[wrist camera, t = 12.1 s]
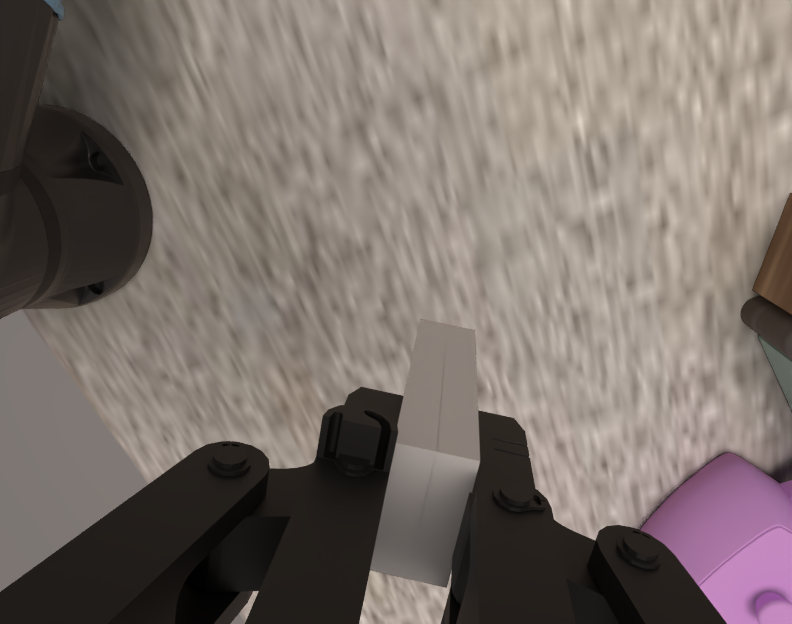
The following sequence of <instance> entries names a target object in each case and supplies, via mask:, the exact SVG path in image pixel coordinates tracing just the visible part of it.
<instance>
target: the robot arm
mask: <svg viewBox="0 0 792 624" xmlns="http://www.w3.org/2000/svg"><path fill="white" fill-rule="evenodd" d="M61 3H62V0H0V319H1V318H3V317H5V316H7V315H9V314H11V313H13V312H15V311H17V310H20V309H61V308H73V307H78V306H83V305H86V304H89V303H92V302H95V301H97V300H99V299H101V298H103V297H105V296H107V295H109V294H111V293H113V292H115V291H116V290H118V289H119V288H121V287H122V286H123V285H125V284H126V283H127V282H128V281H129V280H130V279H131V278H132V277H133V276H134V275H135V273H136V272H137V271H138V269H139V268H140V266H141V264H142V262H143V261H144V258H145V256H146V254H147V251H148V248H149V244H150V239H151V232H152V212H151V204H150V199H149V195H148V191H147V188H146V185H145V183H144V180H143V178H142V175H141V173H140V171H139V169H138V167H137V166H136V164H135V162H134V161H133V159H132V158H131V156H130V155H129V153H128V152H127V151H126V149H125V148H124V147H123V146H122V145H121V143H120V142H119V141H118V140H117V139H116V138H115V137H114V136H113V135H112V134H111V133H109V132H108V131H107V130H106V129H105V128H103V127H102V126H101V125H99V124H98V123H96V122H95V121H93V120H91V119H90V118H88V117H86V116H84V115H82V114H80V113H77V112H75V111H72V110H69V109H66V108H62V107H58V106H51V105H38V101H39V97H40V93H41V89H42V85H43V81H44V77H45V73H46V69H47V65H48V61H49V57H50V53H51V49H52V45H53V41H54V36H55V32H56V28H57V24H58V20H61V21H62V20H63V17H64V8H63V6H62V4H61ZM451 569H452V576H451V588H450V592H449V595H448V599H447V603H446V607H445V610H444V614H443V618H442V621H441V624H727V623H726V621H725V620H724V619H723V617H722V616H721V615H720V614H719V612H718V611H717V610H716V608H715V607H714V606H713V604H712V603H711V602H710V600H709V599H708V598H707V596H706V595H705V594H704V593H703V591H702V590H701V589H700V587H699V586H698V585H697V583H696V582H695V581H694V579H693V578H692V577H691V575H690V574H689V573H688V572H687V570H686V569H685V568H684V566H683V565H682V564H681V562H680V561H679V560H678V558H677V557H676V556H675V555H674V554H673V553H672V552H671V551H670V550H669V549H668V548H667V547H666V546H665V545H664V544H663V543H662V542H660V541H659V540H657V539H656V538H654V537H653V536H651V535H650V534H648V533H646V532H644V531H641V530H639V529H636V528H631V527H626V526H621V525H614V526H606V527H605V528H603V529H601V530H600V531H599V532H598V535H597V538H596V541H595V540H592V539H590V538H588V537H585V536H583V535H581V534H578V533H576V532H574V531H572V530H570V529H568V528H566V527H564V526H562V525H561V524H559V523H558V522H556V521H555V520H554V518H553V513H552V508H551V506H550V504H549V502H548V500H547V499H546V498H545V497H544V496H543V495H542V494H541V493H540V492H539V491H538V490H536V489H535V484H534V479H533V473H532V468H531V462H530V458H529V451H528V447H527V440H526V435H525V431H524V430H523V429H522V427H521V426H520V425H519V424H518V423H517V421H516V420H515V419H514V418H510V417H506V416H501V415H497V414H492V413H487V412H483V411H478V394H477V369H476V343H475V330H471V329H467V328H462V327H457V326H452V325H448V324H443V323H438V322H434V321H429V320H424V319H420V324H419V328H418V333H417V337H416V342H415V347H414V351H413V356H412V360H411V365H410V369H409V374H408V379H407V383H406V388H405V392H404V396H401V395H397V394H392V393H387V392H383V391H378V390H374V389H369V388H364V387H360V388H359V389H357V390H356V391H354V392H352V393H351V394H349V395H348V397H347V400H346V402H345V405H340V406H337V407H334V408H331V409H329V410H328V411H327V412H326V413H325V414H324V415H323V419H322V425H321V431H320V437H319V443H318V449H317V455H316V458H315V461H314V463H312V464H310V465H307V466H303V467H299V468H289V469H269V459H268V458H267V457H266V456H265V454H264V453H263V452H262V451H261V450H259V449H257V448H255V447H253V446H252V445H248V444H244V443H240V442H233V441H232V442H230V441H224V442H217V443H212V444H207V445H205V446H203V447H201V448H199V449H197V450H195V451H194V452H193V453H191V454H190V455H188V456H187V457H186V458H184V459H183V460H182V461H180V462H179V463H177V464H176V465H175V466H173V467H172V468H171V469H169V470H168V471H166V472H165V473H164V474H162V475H161V476H160V477H158V478H157V479H155V480H154V481H153V482H151V483H150V484H148V485H147V486H146V487H144V488H143V489H142V490H140V491H139V492H138V493H136V494H135V495H133V496H132V497H131V498H129V499H128V500H127V501H125V502H124V503H122V504H121V505H120V506H118V507H117V508H115V509H114V510H113V511H111V512H110V513H109V514H107V515H106V516H104V517H103V518H102V519H100V520H99V521H98V522H96V523H95V524H93V525H92V526H91V527H89V528H88V529H86V530H85V531H84V532H82V533H81V534H80V535H78V536H77V537H76V538H74V539H73V540H71V541H70V542H68V543H67V544H66V545H64V546H63V547H62V548H60V549H59V550H58V551H56V552H55V553H53V554H52V555H51V556H49V557H48V558H46V559H45V560H44V561H43V562H41V563H40V564H38V565H37V566H35V567H34V568H33V569H32V570H30V571H29V572H27V573H26V574H24V575H23V576H22V577H20V578H19V579H18V580H16V581H15V582H13V583H12V584H11V585H9V586H8V587H6V588H5V589H4V590H2V591H1V592H0V624H230V623H231V622H232V621H233V620H234V618H235V617H236V616H237V615H238V614H239V612H240V611H241V610H242V609H243V607H244V606H245V605H246V604H247V602H248V600H249V598H250V596H251V594H252V592H253V591H259V592H258V594H257V597H256V599H255V601H254V604H253V606H252V609H251V611H250V613H249V616H248V618H247V620H246V623H245V624H359V620H360V615H361V610H362V606H363V601H364V596H365V591H366V586H367V581H368V576H369V572H370V570H372V571H376V572H380V573H385V574H389V575H393V576H398V577H402V578H406V579H411V580H415V581H419V582H424V583H428V584H433V585H437V586H441V587H446V588H447V584H448V581H449V577H450V573H451Z"/></svg>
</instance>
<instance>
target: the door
mask: <svg viewBox="0 0 792 624" xmlns="http://www.w3.org/2000/svg"><path fill="white" fill-rule="evenodd" d="M758 337H759V339H760V341H761V344H762V346H763V348H764V350H765V353H766V355H767V357H768V359H769V361H770V364H771V366H772V368H773V370H774V372H775V375H776V377H777V379H778V381H779V384H780V386H781V388H782V390H783V392H784V395H785V397H786V399H787V401H788V403H789V406H790V408H791V410H792V360H791V359H790V358H789V357H788V356H786V355H785V354H784V353H782V352H781V351H780V350H778V349H777V348H776V347H775V346H773V345H772V344H771V343H769V342H768V341H767V340H765V339H764V338H763V337H762V336H758Z"/></svg>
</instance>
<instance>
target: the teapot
mask: <svg viewBox="0 0 792 624" xmlns="http://www.w3.org/2000/svg"><path fill="white" fill-rule="evenodd" d="M640 530H641V531H644V532H646V533H648V534H650V535H651V536H653V537H654V538H656V539H657V540H659V541H660V542H662V543H663V544H664V545H665V546H666V547H667V548H668V549H669V550H670V551H671V552H672V553H673V554H674V555H675V556H676V557H677V558H678V560H679V561H680V562H681V564H682V565H683V566H684V568H685V569H686V570H687V572H688V573H689V574H690V575H691V577H692V578H693V579H694V581H695V582H696V583H697V585H698V586H699V587H700V589H701V590H702V591H703V593H704V594H705V595H706V596H707V598H708V599H709V600H710V602H711V603H712V604H713V606H714V607H715V608H716V610H717V611H718V612H719V614H720V615H721V616H722V617H723V619H724V620H725V621H726V623H727V624H792V480H789V481H786V482H783V483H778V482H777V481H776V480H774V479H773V478H771V477H770V476H768V475H767V474H765V473H764V472H762V471H761V470H759V469H758V468H756V467H755V466H753V465H752V464H750V463H749V462H747V461H745V460H744V459H742V458H740V457H739V456H737V455H735V454H732V453H725V454H722V455H721V456H719V457H717V458H716V459H714V460H713V461H711V462H710V463H709V464H707V465H706V466H705V467H703V468H702V469H701V470H699V471H698V472H697V473H696V474H694V475H693V476H692V477H691V478H689V479H688V480H687V481H686V482H685V483H683V484H682V485H681V486H680V487H679V488H678V489H676V490H675V491H674V492H673V493H672V494H671V495H670V496H669V497H668V498H667V499H666V500H665V501H664V502H663V503H662V505H661V506H660V507H659V508H658V509H657V510H656V511H655V512H654V513H653V514H652V516H651V517H650V518H649V519H648V520H647V521H646V523H645V524H644V525H643V526H642V528H641V529H640Z"/></svg>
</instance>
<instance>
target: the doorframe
mask: <svg viewBox="0 0 792 624" xmlns="http://www.w3.org/2000/svg"><path fill="white" fill-rule="evenodd" d="M753 291H755V292H756V293H758V294H760V295H761V296H759V297H754V298H752V299H750V300H749V301H747V302H746V303H745V304H744V306H743V308H742V310H741V318H742V321H743V322H744V323H745V324H746V325H747V326H749V327H750V328H751V329H752V330H754V331H755V332H756V333H758V334H759V335H760V336H762V337H763V338H764V339H765V340H767V341H768V342H769V343H771V344H772V345H773V346H775V347H776V348H777V349H778V350H780V351H781V352H782V353H784V354H785V355H786V356H788V357H789V358H790V359H791V360H792V193H790V195H789V198H788V200H787V203H786V205H785V208H784V211H783V213H782V216H781V218H780V221H779V223H778V226H777V228H776V231H775V233H774V236H773V239H772V241H771V244H770V246H769V249H768V251H767V254H766V256H765V259H764V261H763V264H762V267H761V269H760V272H759V274H758V277H757V279H756V282H755V284H754V287H753Z"/></svg>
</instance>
